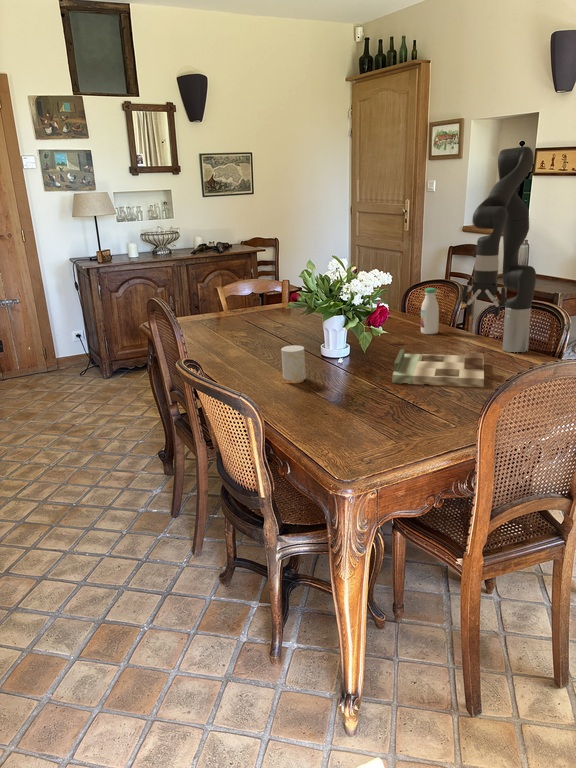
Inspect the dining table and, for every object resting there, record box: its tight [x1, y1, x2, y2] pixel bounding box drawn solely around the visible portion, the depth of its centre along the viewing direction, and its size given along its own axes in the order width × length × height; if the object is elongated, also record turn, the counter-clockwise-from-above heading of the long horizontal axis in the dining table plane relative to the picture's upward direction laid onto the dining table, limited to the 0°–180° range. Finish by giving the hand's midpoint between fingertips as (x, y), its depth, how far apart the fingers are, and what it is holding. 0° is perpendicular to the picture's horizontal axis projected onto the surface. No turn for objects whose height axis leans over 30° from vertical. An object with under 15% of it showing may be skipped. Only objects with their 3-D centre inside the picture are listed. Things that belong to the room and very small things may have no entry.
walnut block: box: [464, 352, 484, 369], centre depth 203 cm, size 6×6×4 cm
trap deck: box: [391, 348, 485, 388], centre depth 207 cm, size 30×26×6 cm
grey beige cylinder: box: [280, 344, 307, 381], centre depth 208 cm, size 8×8×12 cm
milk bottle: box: [420, 287, 440, 335], centre depth 259 cm, size 8×8×20 cm
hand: (482, 316), depth 198 cm, fingers open, 8 cm apart
